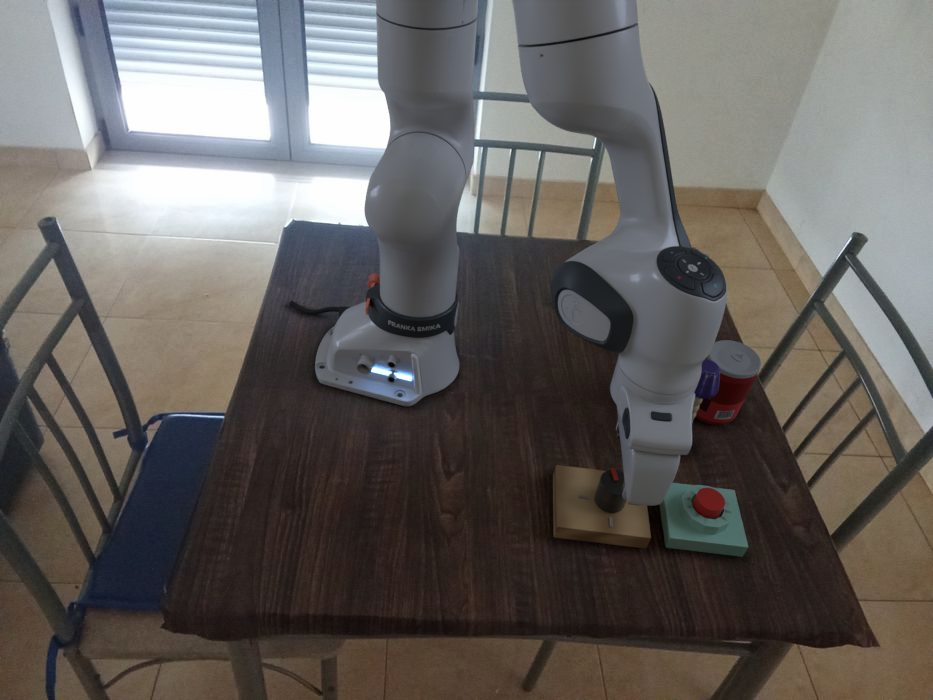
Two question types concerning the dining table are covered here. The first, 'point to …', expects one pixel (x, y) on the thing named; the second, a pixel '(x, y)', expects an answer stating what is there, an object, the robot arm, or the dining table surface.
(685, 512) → the switch block
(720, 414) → the canned food
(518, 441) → the dining table surface
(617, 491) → the dimmer knob
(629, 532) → the dimmer panel
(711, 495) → the power button
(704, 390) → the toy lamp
